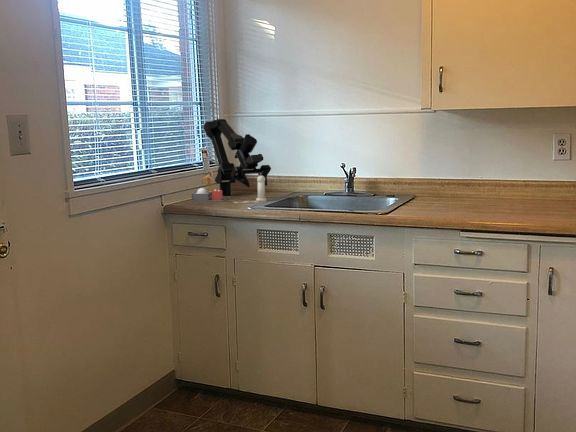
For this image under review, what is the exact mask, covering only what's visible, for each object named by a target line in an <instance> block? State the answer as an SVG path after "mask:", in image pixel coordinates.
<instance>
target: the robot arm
mask: <svg viewBox="0 0 576 432" xmlns="http://www.w3.org/2000/svg"><path fill="white" fill-rule="evenodd" d="M203 130H204V131H205V132H204V133H205V135H206V136H207V137H208V138H209V139H210V140H211V143H212V147H213V149H214V153H215V156H216V159H217V163H218V168H217V174H216V176H215V179H214V181H215V182H216V183H217V185H219V190H222V196H223V197H232V196H233V195H234V193H232V184H235V183H236V181H238V182H240V183H241V184H243V185H244V186H246V188H247V187H248V188H250V182H249V180H248V178H247V175H255V174H257V175H258V176H264V177H265V187H267V186H268V178H267V177H268V175H269V173H270V171H271V170H272V167H271V166H270V164H262V165H261V166H260V167H259V168H257V167H258V166H259V163H261V162H262V161H264V156H263V154H262V153H257V154H251V153H252V152H253V151H254V150H255V147H256V145H257V144H258V140H257V139H256V138H255V137H254V136H252V135H251V134H250V133H246V134H245V135H244V137H243V136H242V135H241V134H237V133H236V132H235V131H234V129H233V128H232V127H231V125H230V124H228V122H227V119H225V118H217V119H214V120H210V121H206V122H205V123H204V124H203ZM222 134H223V136H224V137H225V139H226V140H227V145H228V147H229V149H230V150H231V151H236V152H235V155H234V159H238V161H239V166H235V164H234V163H233V162H231V163H230V161H229V158H228V156H227V152H226V149H225V146H224V143H223V139H222ZM250 154H251V155H250ZM215 182H214V183H215ZM216 183H215V184H216Z"/></svg>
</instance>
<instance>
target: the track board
mask: <svg viewBox="0 0 576 432" xmlns="http://www.w3.org/2000/svg"><path fill="white" fill-rule="evenodd" d="M263 202H267V200H266V201H263ZM233 203H235V204H246V203H260V202H259V201H256V199H255V200H240V201H238V200H237V201H233Z"/></svg>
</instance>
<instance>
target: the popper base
mask: <svg viewBox="0 0 576 432" xmlns="http://www.w3.org/2000/svg"><path fill="white" fill-rule="evenodd" d="M212 190H213V189H212ZM197 191H198V190H197ZM197 191H194V192H192V193H191V200H190V202H191V203H190V204H192V205H193V203H195V202H226V201H227V200H229V198H228V197H226V198H225V197H224V196H222V190H220V189H214V190H213V191H212V192H209V191H207V192H208V194H195V193H197Z"/></svg>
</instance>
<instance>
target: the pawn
mask: <svg viewBox="0 0 576 432" xmlns="http://www.w3.org/2000/svg"><path fill="white" fill-rule="evenodd" d="M256 181H257V197H256V198H255V200H256V202H257V201H259V202H258V203H262V202H263V201H266V202H267V198H266V196H265V195H266V189H265V188H266V186H265V177H264V176H259V175H258V176H257V178H256Z"/></svg>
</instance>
